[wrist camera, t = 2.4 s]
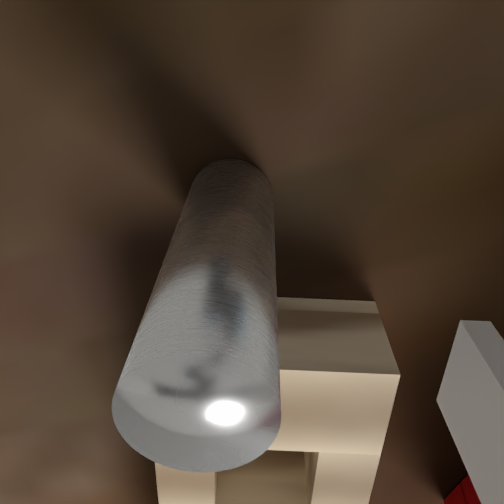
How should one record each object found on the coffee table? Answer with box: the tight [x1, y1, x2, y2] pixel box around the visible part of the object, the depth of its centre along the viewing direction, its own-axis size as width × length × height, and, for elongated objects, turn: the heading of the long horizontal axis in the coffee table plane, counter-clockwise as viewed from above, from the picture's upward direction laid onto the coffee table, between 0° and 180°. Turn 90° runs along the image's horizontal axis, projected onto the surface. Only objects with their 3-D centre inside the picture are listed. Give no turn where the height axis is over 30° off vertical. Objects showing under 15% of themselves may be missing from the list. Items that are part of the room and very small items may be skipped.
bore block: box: [155, 297, 400, 504], centre depth 27 cm, size 24×10×5 cm, turn 178°
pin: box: [112, 159, 281, 472], centre depth 15 cm, size 4×4×12 cm
